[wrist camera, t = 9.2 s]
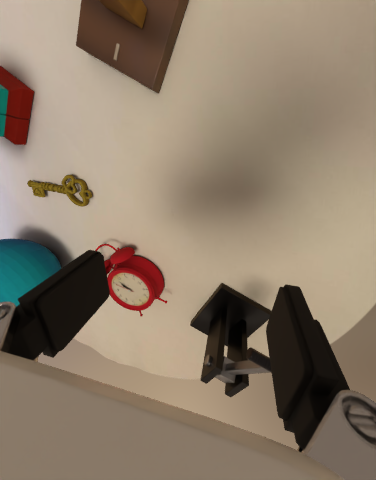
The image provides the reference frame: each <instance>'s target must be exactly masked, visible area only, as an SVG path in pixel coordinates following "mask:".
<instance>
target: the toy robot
mask: <svg viewBox="0 0 376 480" xmlns="http://www.w3.org/2000/svg"><path fill="white" fill-rule="evenodd" d="M33 95H34V91H33V90H31V89H30V88H29V87H27V86H26V85H25V84H24V83H22V82H21V81H20V80H18V79H17V78H16V77H14V76H13V75H12V74H10V73H9V72H8V71H7V70H5V69H4V68H3V67H1V66H0V136H2V137H6V138H7V139H8V140H10V141H11V142H12V143H14V144H16V145H25V144H26V139H27V133H28V127H29V119H30V114H31V108H32V101H33Z"/></svg>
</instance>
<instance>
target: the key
mask: <svg viewBox="0 0 376 480" xmlns="http://www.w3.org/2000/svg"><path fill="white" fill-rule="evenodd" d="M69 178H70V179H71V181H70V182H69V183H68V184H66V181H67V180H68V179H69ZM75 183H79V184H80V185H81V192H80V193H79V194H80V196H81V197H82V199H83V202H80V201H79V200H78V199H77V198H76V197H75V196H74V195H73V194H75V193H76V192H77V188H76V186H75ZM27 184H28V186H29V187H32V189H33V193H34V195H35V196H39V197H45V192H44V190H48V191H53V192H55V191H57V192H58V193H63V194H67V196H68V197H69V199H70V200H71V201H72V202H73V203H74V204H76V205H78V206H86V205H87V204H88V203H89V199H90V198H91V197H92V193H91V192H90V191H89V190H87V185H86V183H85V182H84V181H83V180H81V179H75V177H74V176H72V175H66V176H65V177H64V179H63V180H62V185H63V186H61V185H57V186H56V185H55V184H51V183H45V182H42V183H37V182H33V181H31V180H29V181H28V183H27ZM71 188H73V190H71ZM86 193H88V194H89V197H88V196H87V194H86Z"/></svg>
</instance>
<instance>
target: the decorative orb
mask: <svg viewBox="0 0 376 480" xmlns="http://www.w3.org/2000/svg"><path fill="white" fill-rule="evenodd" d="M60 269H61V265H60V263H59V261H58V259H57V258H56V256H55V255H54V254H53V253H52V252H51V251H50V250H49V249H47V248H46V247H44V246H42V245H40V244H38V243H35V242H33V241H29V240H22V239H2V240H0V302H12V303H14V304H15V305H16V307H17V306H18V305H19V304H20V303H19V301H18V298H20V297H21V296H23V295H24V294H26V293H27V292H28V291H30V290H31V289H33V288H34V287H36V286H37V285H39V284H40V283H41V282H43V281H44V280H46V279H47V278H49V277H50V276H52V275H53V274H55V273H56V272H57V271H59V270H60Z"/></svg>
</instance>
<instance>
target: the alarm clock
mask: <svg viewBox="0 0 376 480" xmlns="http://www.w3.org/2000/svg"><path fill="white" fill-rule="evenodd" d="M104 245H107V246H110V247H111V248H113V249H114V250H115V251H116V252H115V253H114V254H113V255H112V256H111V258H110V260H106V261H104V263H105V268H106V274H108V273H109V272H110V270H111V268H112V269H114V270H113V271H112V272H111V273H110V274H109V275H108V278H107V279H108V285H109V290H110V296H111V297H112V298H113V299H114V300H115V301H116V302H117V303H118V304H119V305H121V306H123V307H125V308H127V309H130V310H135V311H139V312H140V316H142V314H141V310H144V309H146V308H148V307H149V306H150V305H151V304H152V303H153V301H154V299H159V300H161V301H163V302H165V303H167V301H164V300H162V299H161V298H159V297H160V295H161V293H162V291H163V288H164V280H163V277H162V274H161V273H160V271H159V270H158V268H157V267H156V266H155V265H154V264H153V263H151V262H150V261H149V260H147V259H145V258H142V257H139V256H133V254H134V253H135V251H134V249H133V248H131V247H125V248H122V249H119V248H117V249H118V250H116V249H115V248H114V247H113V246H111V245H109V244H102V245H100V246H99V247H98V248H97V249H96V250H95V251H97V250H98V249H99V248H100V247H102V246H104ZM113 264H115V266H114V268H113Z"/></svg>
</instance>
